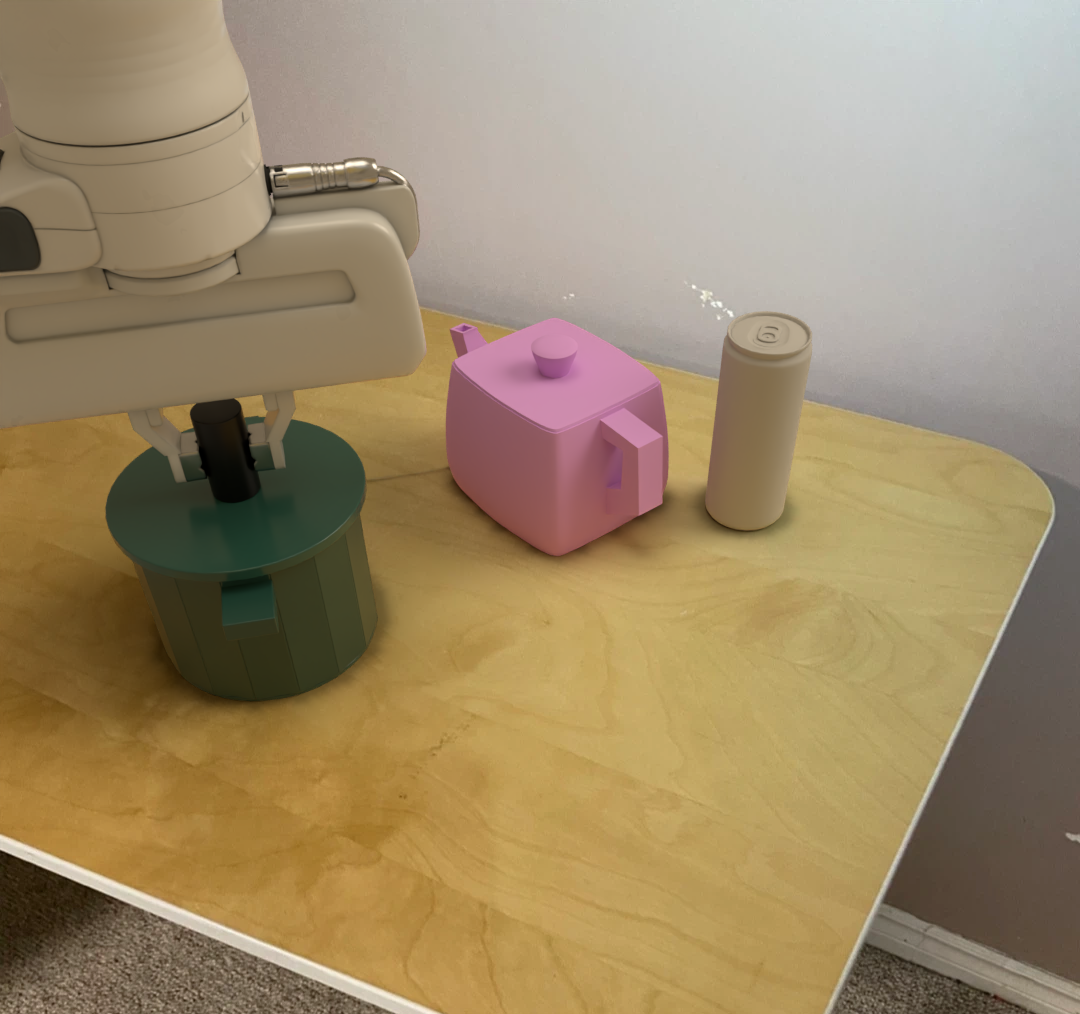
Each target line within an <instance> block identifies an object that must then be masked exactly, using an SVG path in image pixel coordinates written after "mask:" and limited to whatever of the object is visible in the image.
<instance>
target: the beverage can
mask: <svg viewBox="0 0 1080 1014" xmlns="http://www.w3.org/2000/svg"><path fill="white" fill-rule="evenodd" d="M812 341H813V332H812V329H811V327H810V326H809V325H808V323H806V322H805V321H803V320H802V319H801V318H799V317H796V316H794V315H791V314H789V313H784V312H780V311H770V310H763V311H753V312H747V313H744V314H742V315H739V316H737V317H736V318H734V319H733V320H731V322H730V323H729V325H728V326H727V329H726V335H725V336H724V339H723V343H722V350H721V351H722V352H721V361H720V369H719V376H718V377H719V378H718V385H717V394H716V402H715V403H716V404H715V410H714V411H715V412H714V421H713V430H712V438H711V445H710V455H709V465H708V473H707V481H706V490H705V499H704V504H705V508H706V511H707V512H708V514H709V515H710V516H711V518H712V519H713V520H715V522H717V523H718V524H720V525H722V526H724V527H726V528H729V529H732V530H736V531H747V532H748V531H758V530H762V529H766V528H767V527H769V526H772V525H773V524H774V523H775V522H777V521H778V520H779V519H780V518H781V517H782V515H783V512H784V510H785V503H786V498H787V493H788V487H789V483H790V482H789V481H790V475H791V470H792V464H793V459H794V453H795V448H796V442H797V438H798V432H799V428H800V427H799V426H800V422H801V421H800V420H801V415H802V410H803V404H804V400H805V395H806V394H805V393H806V388H807V383H808V379H809V378H808V377H809V373H810V368H811V367H810V366H811V360H812V355H813V343H812Z"/></svg>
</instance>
